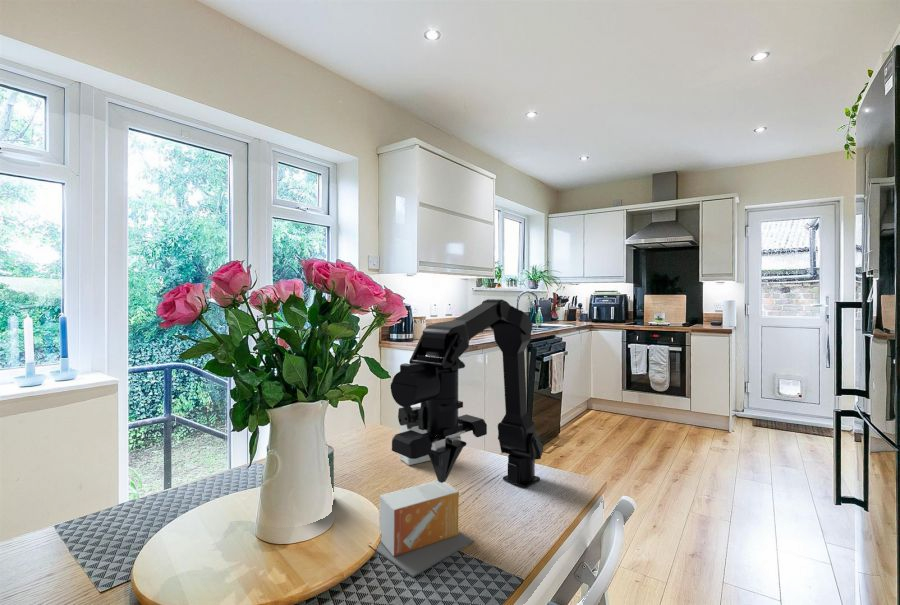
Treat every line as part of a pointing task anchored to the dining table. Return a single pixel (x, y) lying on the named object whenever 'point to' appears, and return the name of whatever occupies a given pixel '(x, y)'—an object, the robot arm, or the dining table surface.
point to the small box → (418, 516)
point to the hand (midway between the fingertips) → (441, 481)
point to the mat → (425, 554)
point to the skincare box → (404, 429)
